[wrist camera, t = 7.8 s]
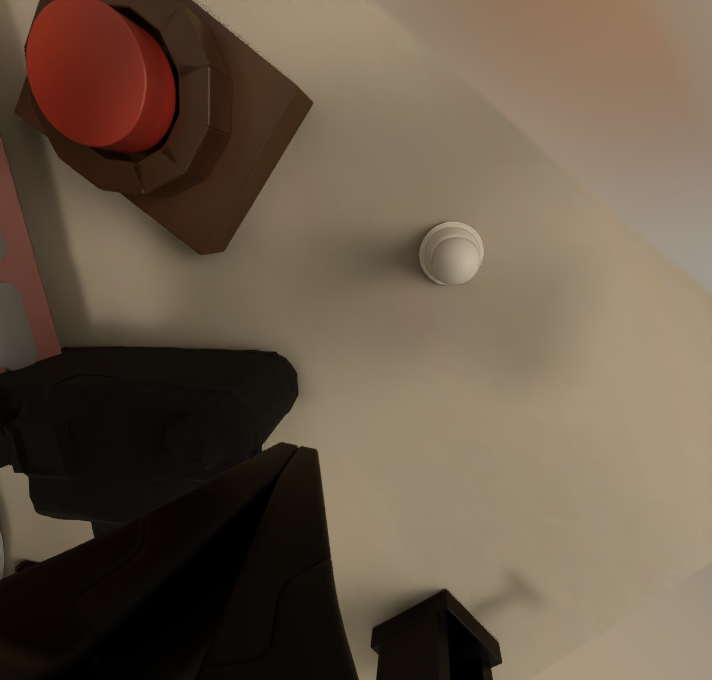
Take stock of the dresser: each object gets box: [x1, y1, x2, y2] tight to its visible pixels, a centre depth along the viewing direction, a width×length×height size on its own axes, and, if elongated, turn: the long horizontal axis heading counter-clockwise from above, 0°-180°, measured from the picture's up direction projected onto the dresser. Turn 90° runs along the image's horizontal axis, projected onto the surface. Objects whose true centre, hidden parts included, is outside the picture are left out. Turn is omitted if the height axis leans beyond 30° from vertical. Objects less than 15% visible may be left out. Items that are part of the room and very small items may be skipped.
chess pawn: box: [419, 222, 484, 286], centre depth 16 cm, size 3×3×5 cm
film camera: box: [0, 346, 298, 538], centre depth 18 cm, size 15×10×9 cm, turn 91°
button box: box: [15, 0, 313, 255], centre depth 17 cm, size 10×8×4 cm
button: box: [26, 0, 176, 154], centre depth 14 cm, size 4×4×2 cm
